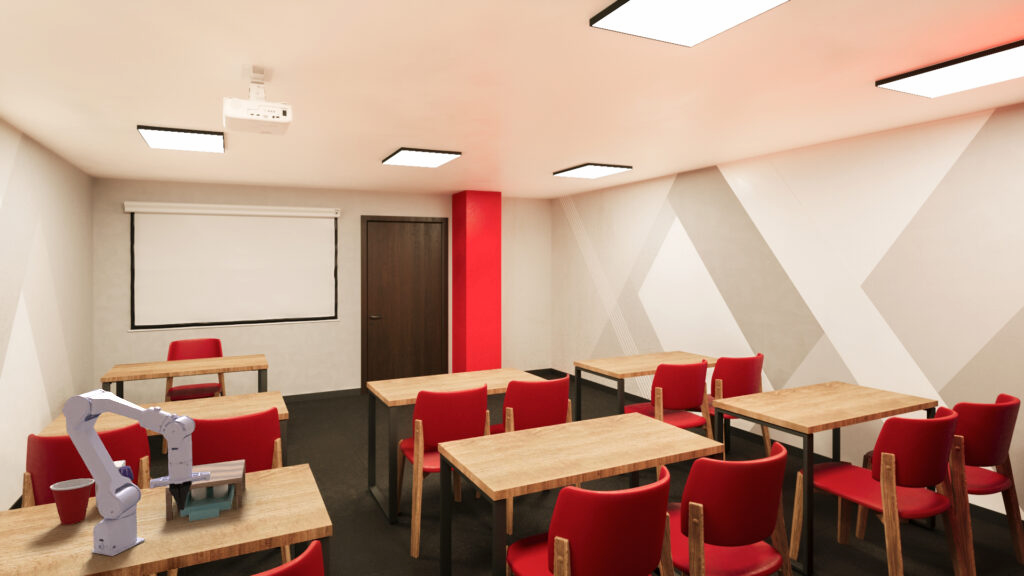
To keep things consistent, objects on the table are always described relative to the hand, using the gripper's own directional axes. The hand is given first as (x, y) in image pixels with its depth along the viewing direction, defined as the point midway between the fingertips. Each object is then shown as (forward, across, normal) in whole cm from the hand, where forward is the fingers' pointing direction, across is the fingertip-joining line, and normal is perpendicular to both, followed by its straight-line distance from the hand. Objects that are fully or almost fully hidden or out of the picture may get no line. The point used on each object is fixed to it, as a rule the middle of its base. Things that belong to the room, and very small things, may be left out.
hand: (181, 509), depth 155 cm
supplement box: (+10, -26, +43) cm, 52 cm away
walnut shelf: (+9, +4, +28) cm, 30 cm away
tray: (+10, +4, +25) cm, 27 cm away
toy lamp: (+10, -18, +23) cm, 31 cm away
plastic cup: (+10, -33, +30) cm, 46 cm away
